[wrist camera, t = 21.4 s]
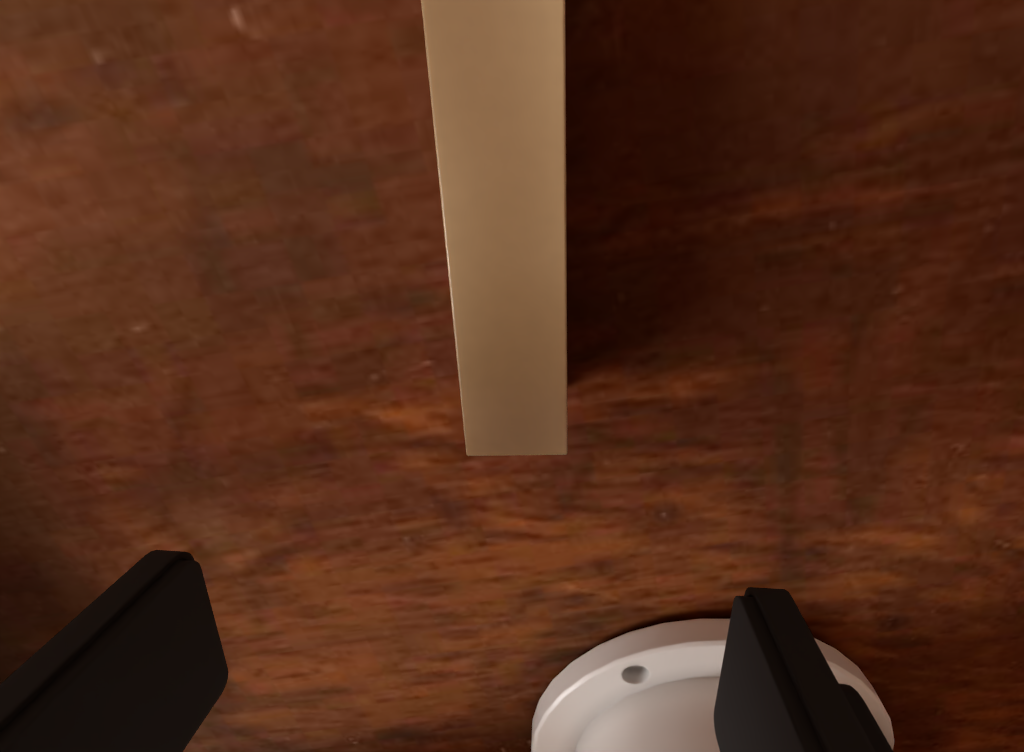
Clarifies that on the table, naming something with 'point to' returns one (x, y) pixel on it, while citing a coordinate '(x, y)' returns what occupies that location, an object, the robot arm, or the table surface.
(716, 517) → the table surface
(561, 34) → the long rectangular wooden block
